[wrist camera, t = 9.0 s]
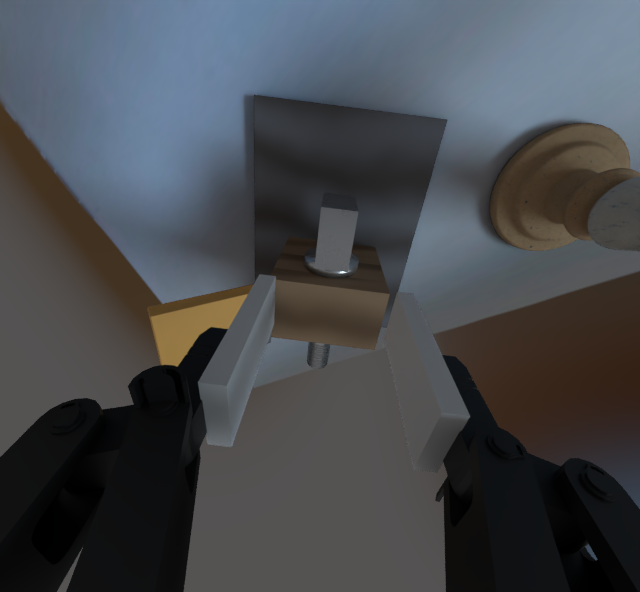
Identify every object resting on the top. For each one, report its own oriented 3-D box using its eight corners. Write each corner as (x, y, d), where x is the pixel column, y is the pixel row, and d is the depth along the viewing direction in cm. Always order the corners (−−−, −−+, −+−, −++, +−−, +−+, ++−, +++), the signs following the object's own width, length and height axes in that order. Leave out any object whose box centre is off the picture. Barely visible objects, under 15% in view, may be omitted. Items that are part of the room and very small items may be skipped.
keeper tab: (147, 307, 18) (150, 316, 17) (268, 281, 23) (275, 287, 22) (161, 370, 21) (165, 380, 20) (267, 334, 26) (273, 342, 25)
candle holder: (472, 171, 29) (674, 228, 11) (612, 92, 25) (1233, -3, 8) (505, 266, 34) (682, 406, 16) (626, 211, 30) (1025, 320, 13)
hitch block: (256, 96, 27) (204, 72, 16) (443, 120, 27) (509, 111, 16) (257, 307, 39) (227, 370, 28) (386, 323, 39) (403, 392, 29)
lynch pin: (312, 190, 26) (306, 204, 21) (366, 197, 26) (373, 213, 21) (298, 341, 35) (291, 377, 30) (338, 346, 35) (338, 383, 30)
